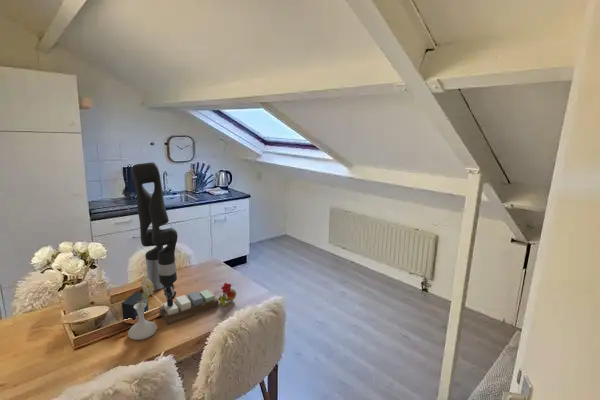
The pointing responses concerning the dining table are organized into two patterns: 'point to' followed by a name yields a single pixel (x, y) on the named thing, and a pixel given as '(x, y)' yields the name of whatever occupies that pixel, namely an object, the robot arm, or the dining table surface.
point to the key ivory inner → (183, 302)
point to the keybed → (188, 311)
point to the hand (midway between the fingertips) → (170, 305)
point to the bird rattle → (229, 292)
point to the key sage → (207, 296)
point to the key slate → (195, 298)
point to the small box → (129, 304)
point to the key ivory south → (170, 308)
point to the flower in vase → (142, 326)
